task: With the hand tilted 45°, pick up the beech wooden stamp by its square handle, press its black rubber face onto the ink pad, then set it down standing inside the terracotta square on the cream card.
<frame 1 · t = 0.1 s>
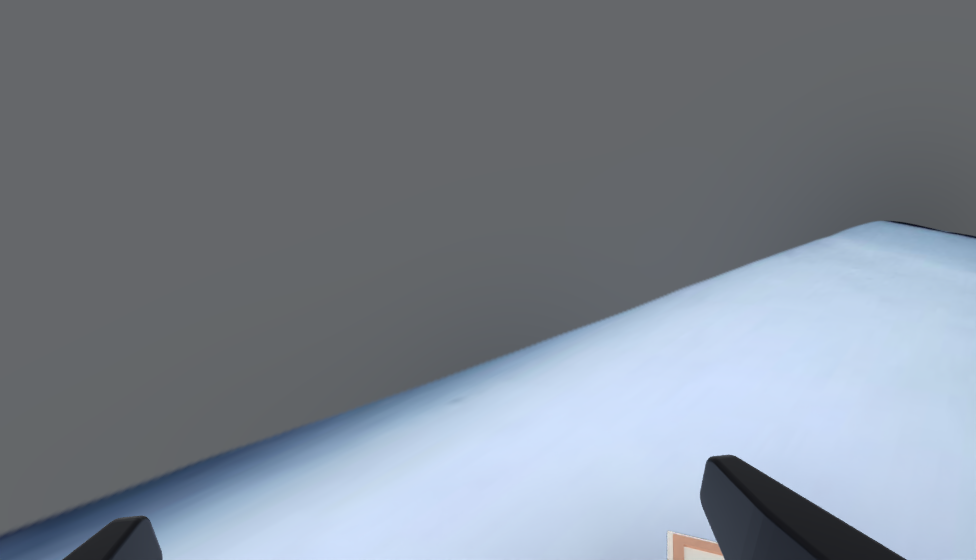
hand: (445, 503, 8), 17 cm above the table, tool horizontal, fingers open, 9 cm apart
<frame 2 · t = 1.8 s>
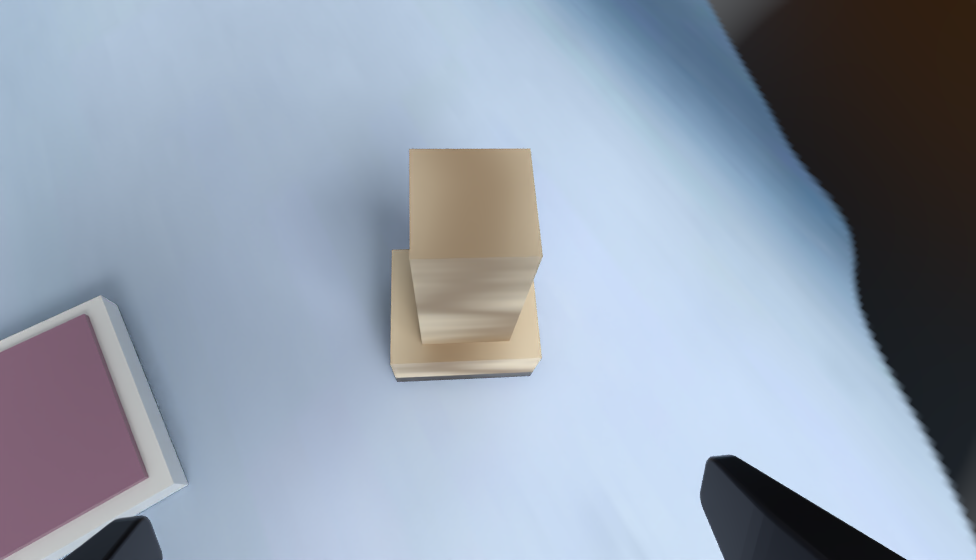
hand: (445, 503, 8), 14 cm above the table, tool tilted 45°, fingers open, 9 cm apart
ink pad: (63, 434, 21), on the table
stamp: (462, 326, 24), on the table
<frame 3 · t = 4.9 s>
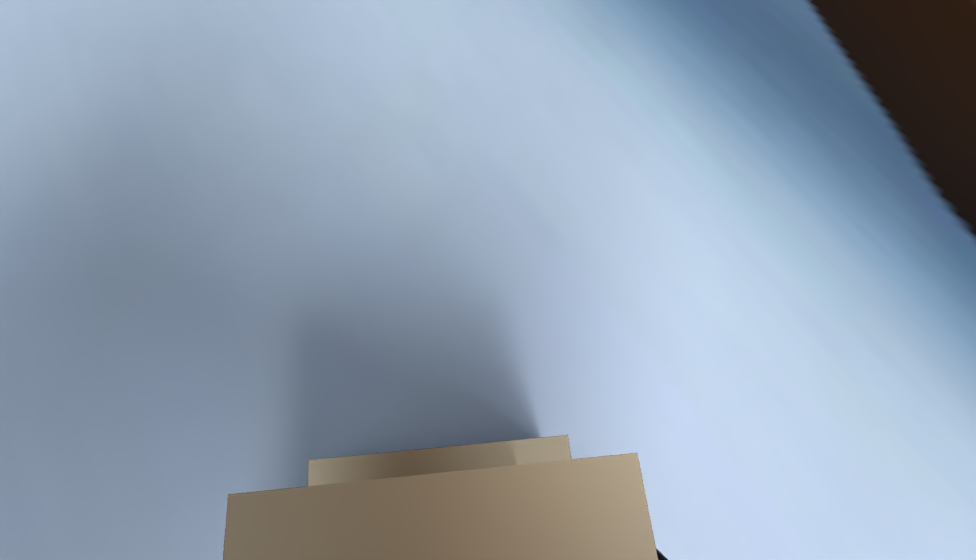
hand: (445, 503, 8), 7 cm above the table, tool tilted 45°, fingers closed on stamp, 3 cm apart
stamp: (448, 551, 14), on the table, touching gripper
when the fingers open (8 cm above the table, at t = 13.9 s): stamp drops 1 cm, resting on marked card.
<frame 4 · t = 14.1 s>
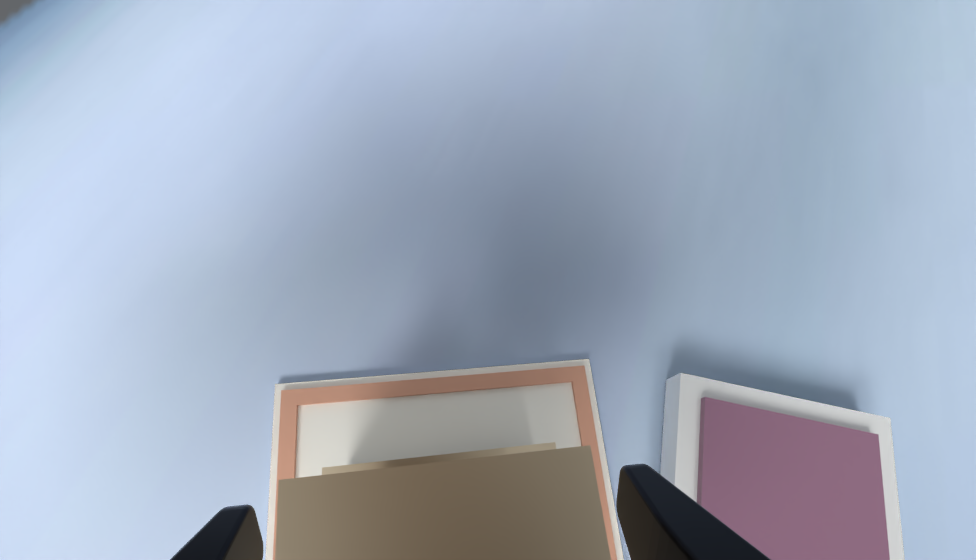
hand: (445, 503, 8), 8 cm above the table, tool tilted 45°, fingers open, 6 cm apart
ink pad: (765, 542, 16), on the table
marked card: (447, 544, 15), on the table
stamp: (448, 552, 15), resting on marked card
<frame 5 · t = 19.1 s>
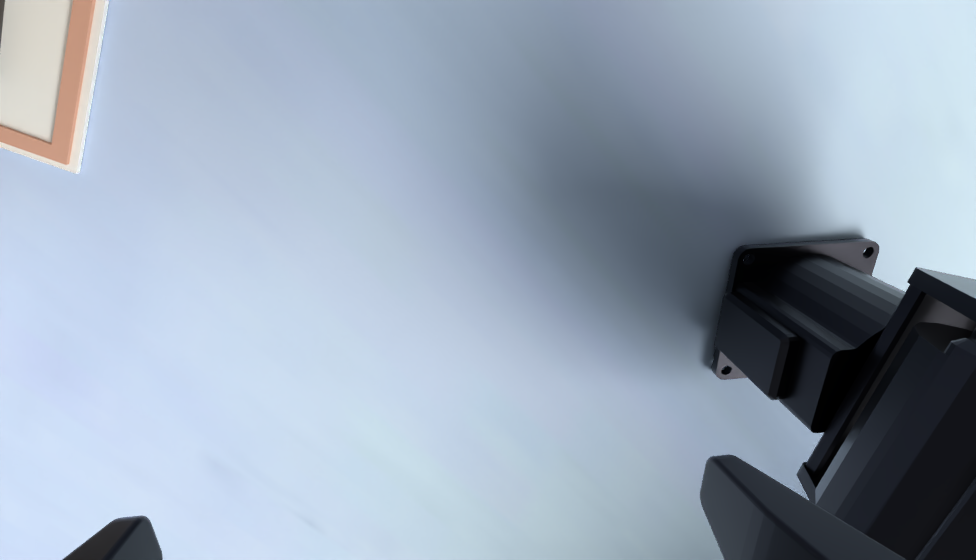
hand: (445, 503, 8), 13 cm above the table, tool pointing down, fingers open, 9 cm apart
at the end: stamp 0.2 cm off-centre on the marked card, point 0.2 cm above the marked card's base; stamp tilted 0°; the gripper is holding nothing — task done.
